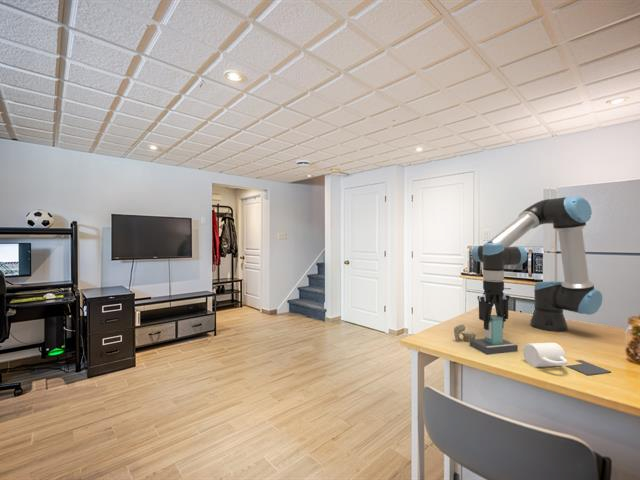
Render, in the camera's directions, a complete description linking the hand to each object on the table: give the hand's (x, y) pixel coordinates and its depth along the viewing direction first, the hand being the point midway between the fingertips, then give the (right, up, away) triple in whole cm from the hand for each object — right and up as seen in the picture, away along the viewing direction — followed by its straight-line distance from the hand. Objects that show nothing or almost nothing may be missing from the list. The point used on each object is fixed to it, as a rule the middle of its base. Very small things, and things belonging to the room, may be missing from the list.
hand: (493, 336), depth 126 cm
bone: (-7, -5, +10) cm, 13 cm away
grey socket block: (0, -5, 0) cm, 5 cm away
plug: (0, -4, 0) cm, 4 cm away
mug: (+9, -6, -18) cm, 21 cm away
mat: (+22, -5, -18) cm, 29 cm away
